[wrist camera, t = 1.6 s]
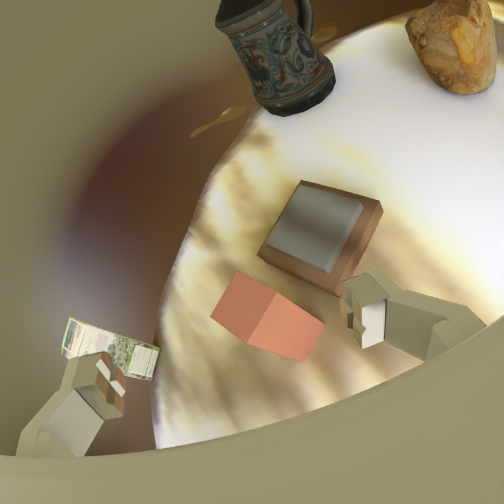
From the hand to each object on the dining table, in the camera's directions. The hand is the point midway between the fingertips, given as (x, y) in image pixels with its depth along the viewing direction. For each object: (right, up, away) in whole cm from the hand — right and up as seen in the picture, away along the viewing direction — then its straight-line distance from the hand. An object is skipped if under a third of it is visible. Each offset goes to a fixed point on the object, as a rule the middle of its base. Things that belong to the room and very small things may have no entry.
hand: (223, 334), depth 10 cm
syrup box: (-16, -15, +38) cm, 44 cm away
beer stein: (+11, +36, +47) cm, 60 cm away
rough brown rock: (+36, +36, +30) cm, 59 cm away
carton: (+6, -7, +27) cm, 28 cm away
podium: (+10, +4, +30) cm, 32 cm away
